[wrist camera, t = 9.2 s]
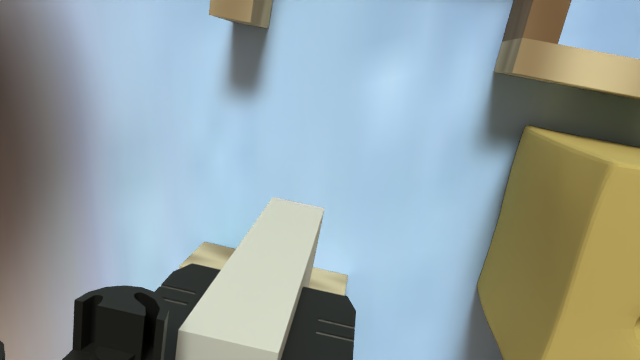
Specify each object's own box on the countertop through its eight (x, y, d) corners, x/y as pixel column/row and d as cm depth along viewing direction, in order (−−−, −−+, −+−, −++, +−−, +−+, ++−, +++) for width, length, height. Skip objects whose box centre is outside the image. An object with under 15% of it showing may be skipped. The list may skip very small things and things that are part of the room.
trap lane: (188, 365, 30) (155, 414, 26) (257, -170, 22) (227, -227, 18) (621, 476, 28) (664, 551, 24) (873, -74, 20) (1008, -113, 16)
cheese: (652, 332, 26) (812, 491, 16) (461, 288, 27) (506, 413, 17) (730, 155, 23) (977, 219, 13) (515, 112, 24) (603, 143, 14)
